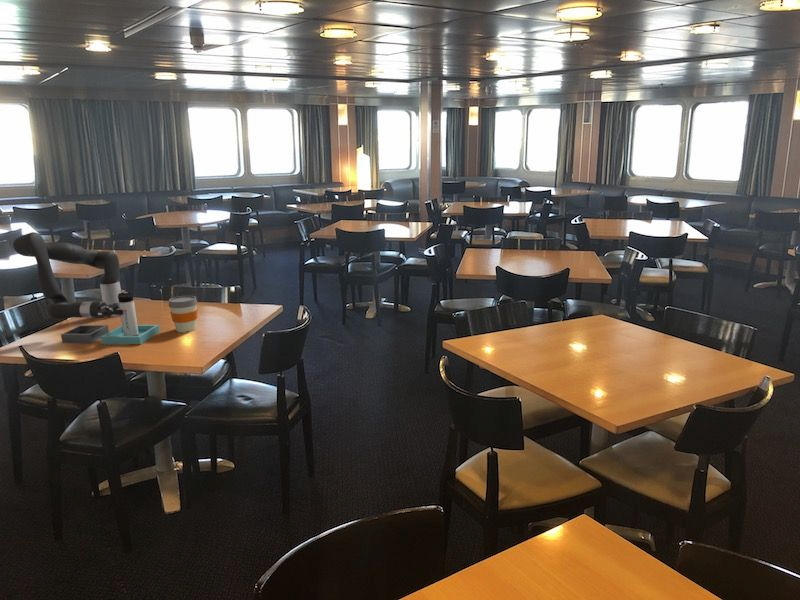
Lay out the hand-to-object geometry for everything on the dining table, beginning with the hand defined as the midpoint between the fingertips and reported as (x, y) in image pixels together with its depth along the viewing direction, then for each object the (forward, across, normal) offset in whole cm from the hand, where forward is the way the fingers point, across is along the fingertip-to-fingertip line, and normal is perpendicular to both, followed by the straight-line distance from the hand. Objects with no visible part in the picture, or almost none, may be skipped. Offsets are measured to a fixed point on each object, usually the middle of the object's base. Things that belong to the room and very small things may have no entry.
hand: (127, 309), depth 278 cm
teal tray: (0, 0, +14) cm, 14 cm away
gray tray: (-22, 0, +14) cm, 26 cm away
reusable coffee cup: (+20, +13, +14) cm, 27 cm away
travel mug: (0, 0, +13) cm, 13 cm away
